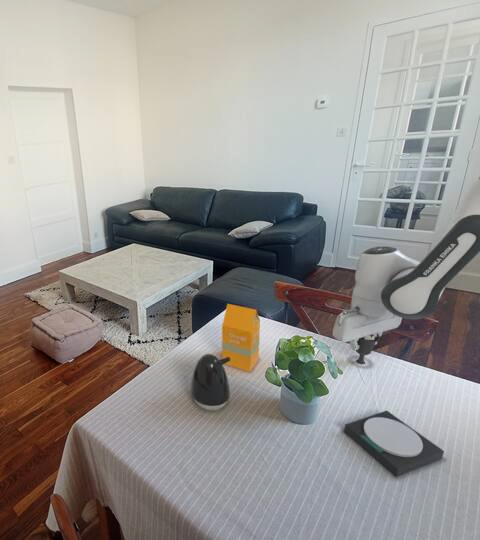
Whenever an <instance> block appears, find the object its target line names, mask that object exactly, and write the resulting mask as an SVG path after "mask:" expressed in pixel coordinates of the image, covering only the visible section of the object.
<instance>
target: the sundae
mask: <svg viewBox="0 0 480 540" xmlns="http://www.w3.org/2000/svg"><path fill="white" fill-rule="evenodd" d="M380 340H381V336H379V335H378V334H372V335H369V336H366V337H362V338H359V339H358V341H357V343H358V344H360V347H359V348H360V349H358V350H355V352H356V353H357V354H358V355H359V356H358V357H359V358H358V359H356V360H355V362H356V363H357V364H359V365H366V362H365V356H369V355H370V354H371V353H372V352H373V350H374V348H375V346H376V345H375V342H377V343H378V342H379V341H380Z"/></svg>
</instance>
